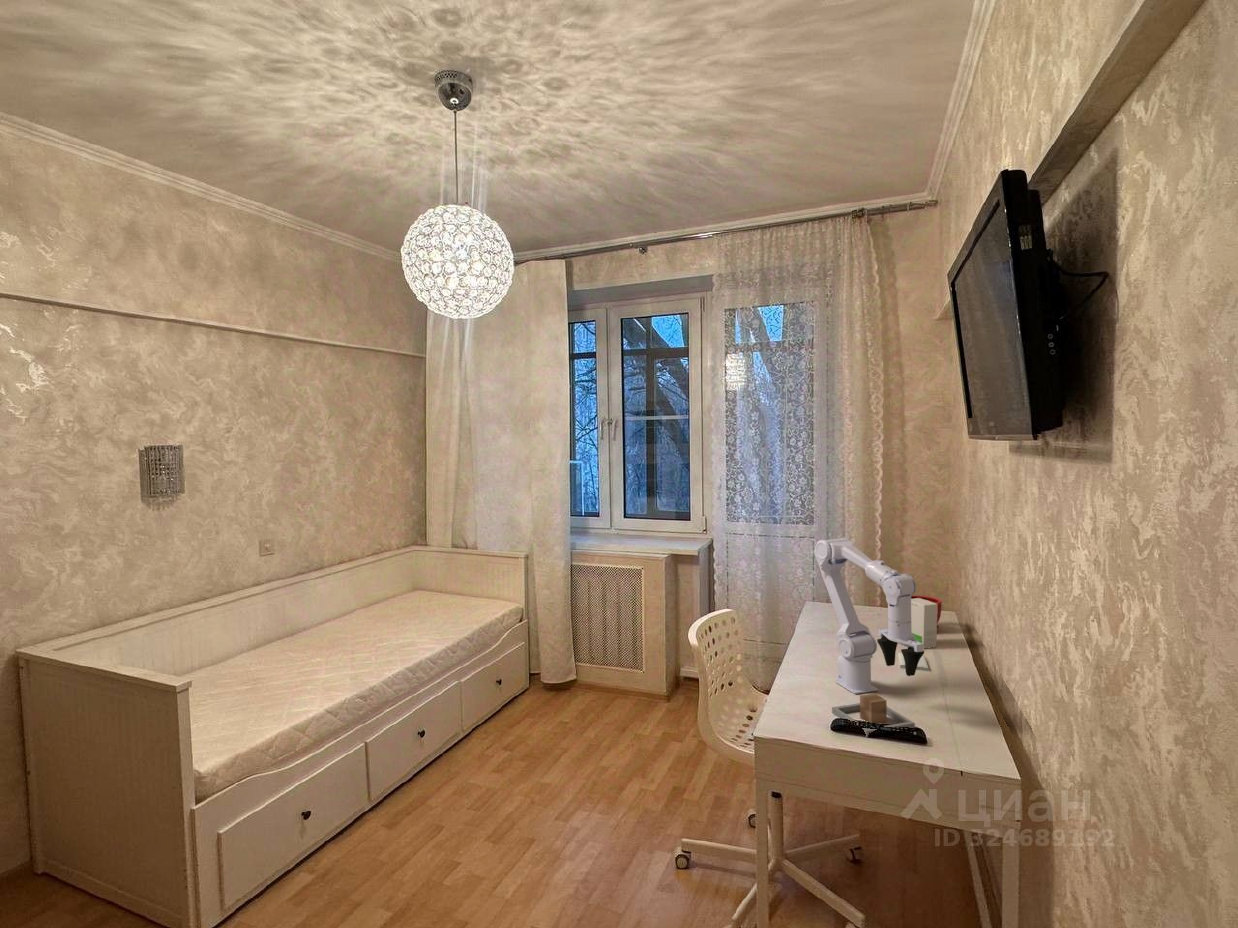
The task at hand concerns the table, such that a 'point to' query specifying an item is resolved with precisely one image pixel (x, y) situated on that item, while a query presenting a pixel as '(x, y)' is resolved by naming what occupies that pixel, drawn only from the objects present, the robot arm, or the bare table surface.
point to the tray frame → (844, 709)
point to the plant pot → (933, 602)
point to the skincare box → (924, 621)
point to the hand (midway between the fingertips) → (900, 670)
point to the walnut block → (873, 708)
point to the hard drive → (921, 665)
